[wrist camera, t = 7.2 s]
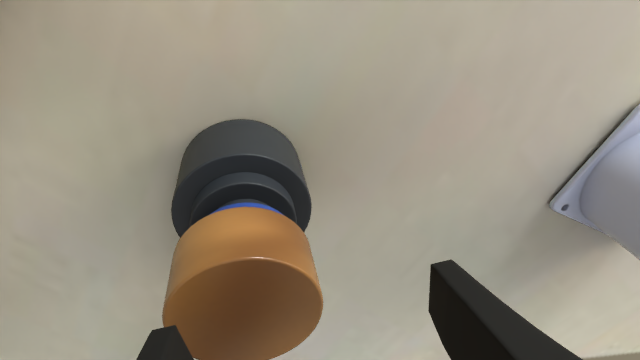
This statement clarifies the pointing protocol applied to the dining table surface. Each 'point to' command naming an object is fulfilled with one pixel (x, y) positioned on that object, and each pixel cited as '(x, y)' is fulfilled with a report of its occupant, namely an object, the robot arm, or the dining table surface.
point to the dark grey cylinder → (240, 174)
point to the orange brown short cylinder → (243, 286)
